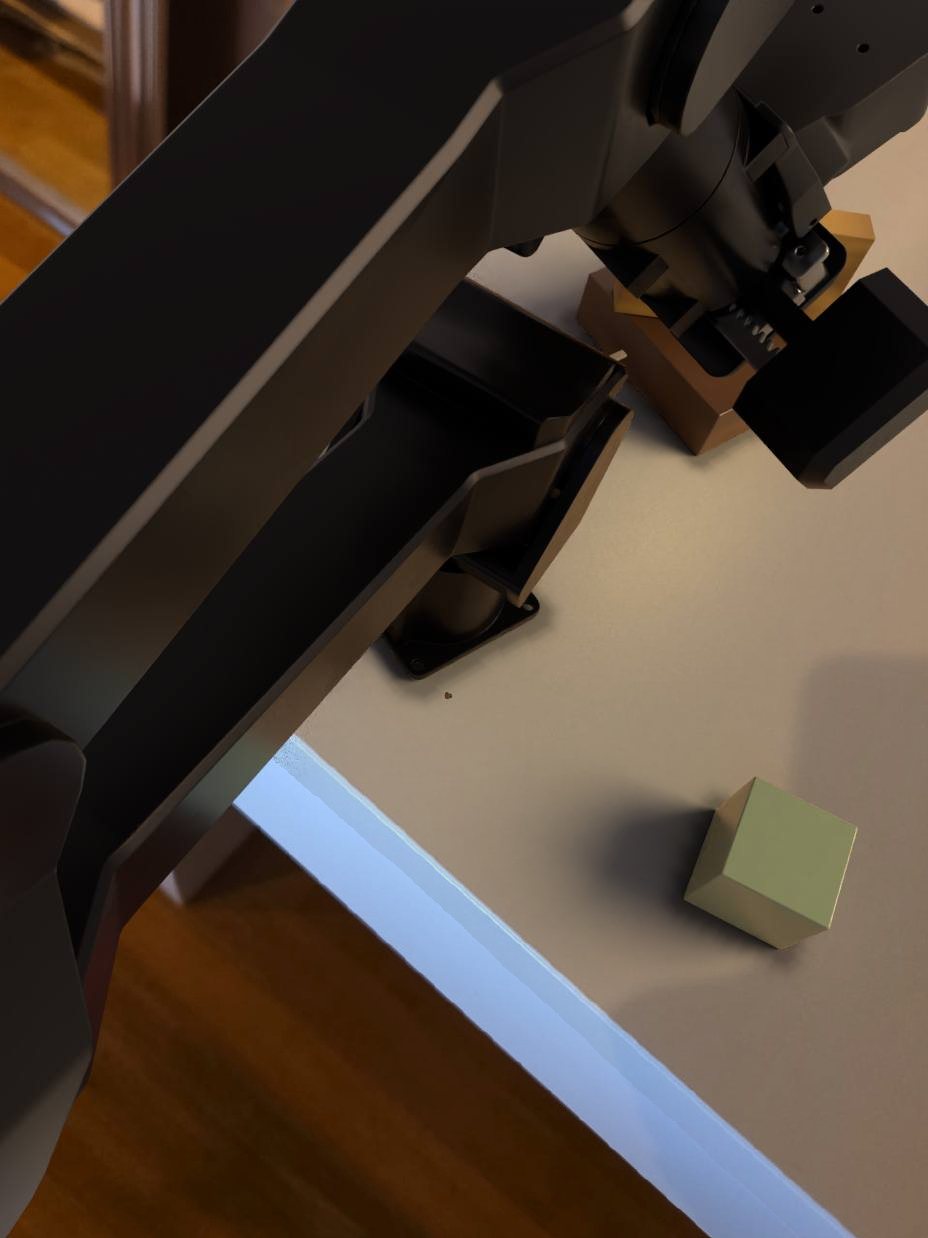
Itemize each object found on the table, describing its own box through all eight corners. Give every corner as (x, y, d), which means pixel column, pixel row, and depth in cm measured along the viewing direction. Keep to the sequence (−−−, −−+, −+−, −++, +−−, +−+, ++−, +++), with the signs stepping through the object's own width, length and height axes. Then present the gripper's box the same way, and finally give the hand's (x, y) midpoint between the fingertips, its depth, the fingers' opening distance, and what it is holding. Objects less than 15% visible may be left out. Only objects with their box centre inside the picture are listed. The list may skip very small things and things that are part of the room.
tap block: (881, 404, 50) (914, 361, 48) (676, 514, 45) (699, 473, 42) (706, 228, 55) (727, 180, 52) (502, 310, 50) (513, 262, 47)
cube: (780, 950, 36) (830, 930, 33) (682, 899, 37) (720, 874, 33) (809, 856, 38) (859, 827, 35) (715, 808, 39) (755, 775, 35)
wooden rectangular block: (810, 315, 48) (873, 209, 43) (814, 339, 48) (879, 234, 42) (612, 288, 47) (651, 176, 42) (613, 312, 47) (653, 201, 41)
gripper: (1161, 108, 22) (1105, 320, 35) (654, -282, 28) (772, 26, 42) (762, 456, 26) (850, 526, 39) (397, 47, 32) (581, 229, 46)
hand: (762, 314), depth 41 cm, fingers closed
